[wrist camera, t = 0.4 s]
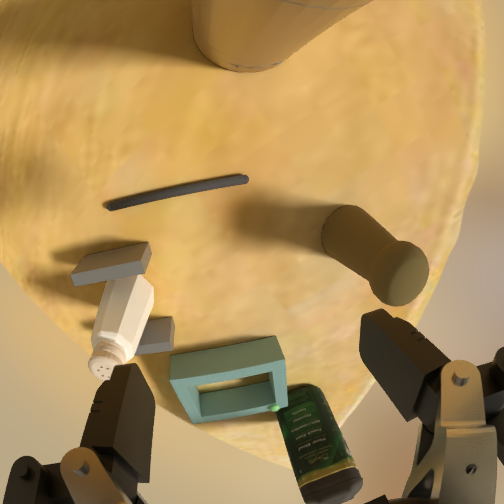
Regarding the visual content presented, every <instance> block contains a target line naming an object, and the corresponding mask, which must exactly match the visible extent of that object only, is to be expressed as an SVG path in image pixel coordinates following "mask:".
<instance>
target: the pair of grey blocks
mask: <svg viewBox="0 0 504 504" xmlns="http://www.w3.org/2000/svg"><path fill="white" fill-rule="evenodd" d="M151 254H152V253H151V249H150V246H149V242H146V243H141V244H136V245H131V246H127V247H122V248H118V249H113V250H108V251H104V252H99V253H95V254H91V255H86V256H84V257H83V259H82V260H81V261H80V262H79V264H78V265H77V266H76V267H75V269H74V270H73V271H72V273H71V274H70V277H71V279H72V281H73V284H74V286H75V287H76V286H82V285H87V284H92V283H98V282H103V281H108V280H114V279H119V278H124V277H129V276H135V275H140V274H145V272H146V269H147V266H148V263H149V260H150V257H151ZM174 329H175V325H174V322H173V319H172V317H167V318H161V319H155V320H148V321H147V322H146V325H145V328H144V330H143V333H142V336H141V338H140V341H139V344H138V346H137V349H136V352H135V354H134V355H143V354H151V353H158V352H166V351H173V345H174Z"/></svg>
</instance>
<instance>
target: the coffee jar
mask: <svg viewBox="0 0 504 504" xmlns="http://www.w3.org/2000/svg"><path fill="white" fill-rule="evenodd" d="M287 396H288V406H287V407H283V408H280V409H279V410H278V411H276V415H277V418H278V422H279V425H280V428H281V431H282V435H283V438H284V441H285V445H286V448H287V451H288V455H289V458H290V461H291V465H292V468H293V471H294V474H295V477H296V480H297V483H298V486H299V489H300V491H301V494H302V497H303V499H304V502H305V503H306V504H341V503H344V502H347V501H349V500H351V499H353V497H354V496H355V495H356V494H357V493H358V492H359V490H360V489H361V488H362V485H363V479H362V478H361V476H360V473H359V470H358V468H357V466H356V464H355V462H354V459H353V457H352V455H351V453H350V451H349V448H348V446H347V444H346V442H345V440H344V437H343V435H342V433H341V431H340V429H339V427H338V425H337V423H336V420H335V418H334V416H333V413H332V411H331V409H330V406H329V404H328V402H327V400H326V398H325V396H324V394H323V392H322V391H321V389H320V388H318V387H316V386H308V387H303V388H298V389H295V390H292V391H290V392H288V393H287Z"/></svg>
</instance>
